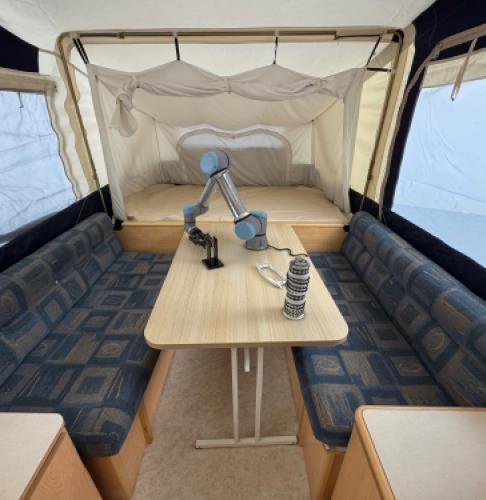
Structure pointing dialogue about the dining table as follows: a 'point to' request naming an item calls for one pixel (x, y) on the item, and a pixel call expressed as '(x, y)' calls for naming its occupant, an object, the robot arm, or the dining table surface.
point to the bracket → (213, 261)
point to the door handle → (269, 277)
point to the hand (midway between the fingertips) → (208, 246)
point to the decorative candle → (296, 288)
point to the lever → (210, 239)
